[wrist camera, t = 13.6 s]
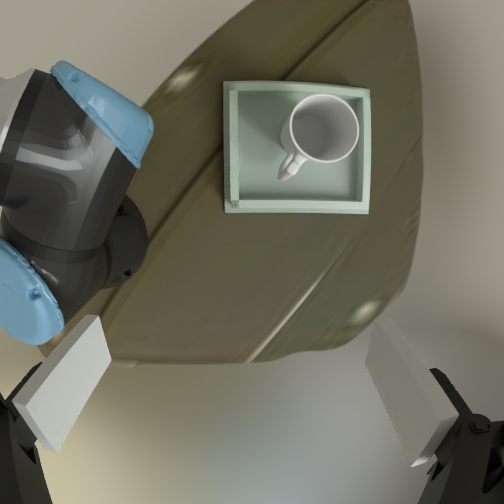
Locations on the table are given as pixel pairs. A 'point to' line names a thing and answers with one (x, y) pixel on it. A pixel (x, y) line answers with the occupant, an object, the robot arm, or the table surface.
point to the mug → (317, 132)
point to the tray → (273, 153)
